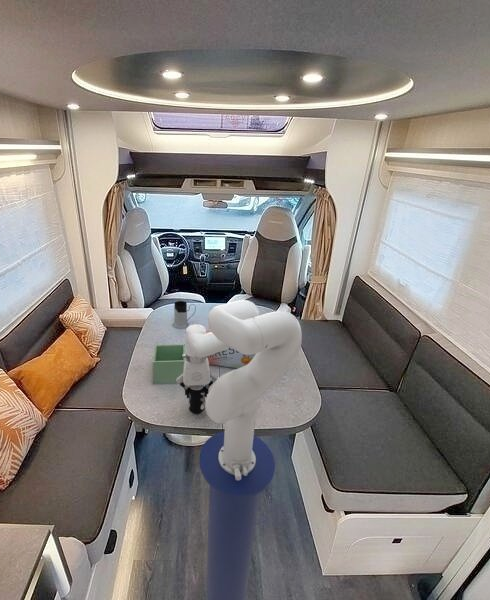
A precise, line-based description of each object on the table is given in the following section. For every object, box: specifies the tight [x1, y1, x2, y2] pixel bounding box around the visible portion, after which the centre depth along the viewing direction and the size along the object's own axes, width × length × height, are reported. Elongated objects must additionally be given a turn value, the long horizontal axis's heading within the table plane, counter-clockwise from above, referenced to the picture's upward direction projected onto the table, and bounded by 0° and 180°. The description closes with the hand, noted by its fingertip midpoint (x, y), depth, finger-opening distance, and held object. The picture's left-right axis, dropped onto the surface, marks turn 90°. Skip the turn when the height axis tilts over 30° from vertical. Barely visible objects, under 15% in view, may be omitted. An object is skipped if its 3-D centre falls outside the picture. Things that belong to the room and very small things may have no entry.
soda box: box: [206, 330, 257, 369], centre depth 160 cm, size 41×14×13 cm, turn 80°
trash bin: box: [152, 343, 186, 384], centre depth 149 cm, size 15×15×12 cm
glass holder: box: [173, 300, 197, 329], centre depth 196 cm, size 9×14×15 cm, turn 105°
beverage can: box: [188, 385, 206, 415], centre depth 124 cm, size 7×7×12 cm
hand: (196, 395), depth 124 cm, fingers closed on beverage can, 6 cm apart
